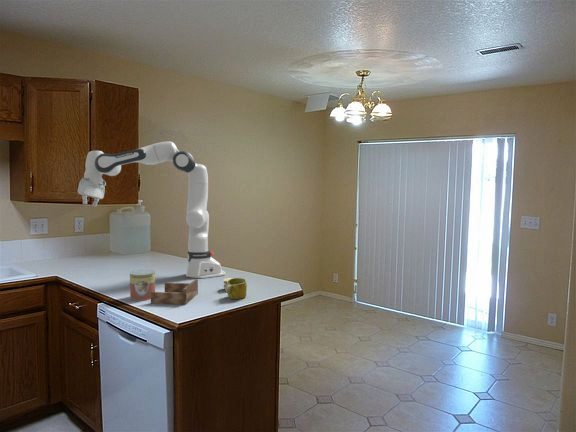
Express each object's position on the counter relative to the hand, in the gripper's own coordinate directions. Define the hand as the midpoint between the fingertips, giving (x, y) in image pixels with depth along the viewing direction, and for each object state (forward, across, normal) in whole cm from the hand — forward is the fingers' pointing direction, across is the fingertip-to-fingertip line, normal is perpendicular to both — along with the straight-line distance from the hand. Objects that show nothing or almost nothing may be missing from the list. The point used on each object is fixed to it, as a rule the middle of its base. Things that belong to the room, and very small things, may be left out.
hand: (89, 205), depth 235 cm
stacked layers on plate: (+40, -4, -81) cm, 91 cm away
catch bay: (+44, -23, -60) cm, 77 cm away
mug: (+42, -19, -88) cm, 99 cm away
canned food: (+44, -23, -45) cm, 67 cm away
